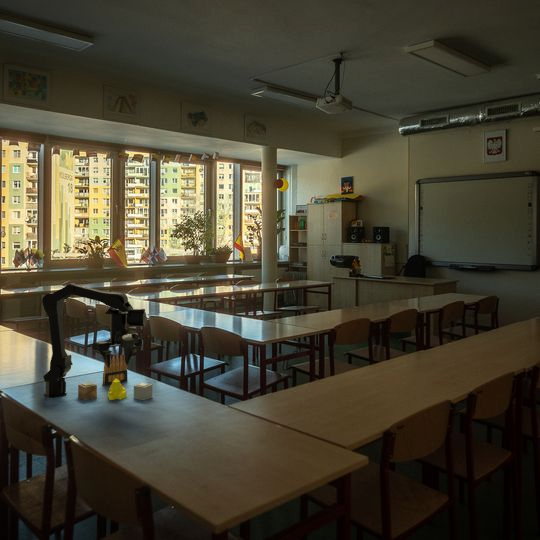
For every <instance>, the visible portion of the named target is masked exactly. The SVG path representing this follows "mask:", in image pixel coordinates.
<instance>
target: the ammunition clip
mask: <svg viewBox="0 0 540 540" xmlns="http://www.w3.org/2000/svg"><path fill="white" fill-rule="evenodd" d="M115 379H118V380H119V381H120V384H123V383H127V382H128V365H126V364H125V354H124V355H122V354H120V357H119V355H118V354H117V355H116V357H115V355H112V357H111V356H110V368H108V367H107V365H106V363H105V361H104V364H103V374H102V383H101V384H102V386H105V387H106V386H111V384H112V382H113V381H114V380H115Z"/></svg>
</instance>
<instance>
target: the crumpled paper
mask: <svg viewBox="0 0 540 540" xmlns="http://www.w3.org/2000/svg"><path fill="white" fill-rule="evenodd" d="M127 393H128V391H127V390H126V388H125V387H124V386H123V384H122V383H120V381H119V380H118V379H115V380H114V381H113V382H112V384H111V385H109V388H108V392H107V398H108V400H110V401H113V400H123V399H125V398H127Z"/></svg>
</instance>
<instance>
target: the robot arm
mask: <svg viewBox="0 0 540 540" xmlns="http://www.w3.org/2000/svg"><path fill="white" fill-rule="evenodd" d="M71 296H77V297H81V298H83V299H84V298H85V299H89V300H93V301H97V302H99V303H102V304H104V305H106V306H107V307H109V308H108V310H107V311H105V312H104V313H105V315H110V327H109V328H108V331H109V332H110V337H109V338H108V342H107V341H104V340H99V341H94V342H93V343H92V350H93V351H97V352H98V353H99V354H100V355H101V357H102V358H103V361H104V362H105V363H106V365H107V367H108V368H110V357H111V354H112V351H113V350H110V349H111V348H115V347H121V348H122V349H123V351H124V355H125V364H126V365H127V366H128V365H129V363H130V360H131V357H132V355H133V353H134V351H135V350H137V349H138V348H139V347H141V346H143V340H142V338H140V336H139V334H138V333H130V334H129V328H127V325H128V326H129V327H142V328H143V327H144V328H145V327H146V325H147V320H148V319H147V318H148V317H147V313H146V309H145V308H134V307H133V305H131V303H130V302H129V297H128V296H127V294H126V293H124V292H116V291H105V290H104V291H103V290H100V289H96V288H91V287H87V286H85V285H84V286H83V285H80V284H77V283H69V284H67V285H66V286H64V287H62V288H60V289H58V290H56V291H54V292H49V293H46V294H45V295H44V296H43V297H42V299H41V304H42V306H43V307H42V308H43V310H44V312H45V313H46V315H47V318H48V326H49V334H50V344H51V353H52V354H51V358H50V362H49V370H48V371H47V372H46V373H45V374H44V375H43V376H42V377H43V378H42V379H43V381H44V382H45V392H43V395H44V396H46V397H48V398H50V399H51V398H52V399H53V398H56V397H61V396H67V381H66V378H65V377H66V376H67V374H68V372H70V370H71V369H72V366H73V362H72V354H68V353H67V351H66V345H65V337H64V327H63V320H62V319H63V318H62V313H63V309H64V303H65V302H64V301H66V300H67V299H69V298H70V297H71Z"/></svg>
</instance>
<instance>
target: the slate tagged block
mask: <svg viewBox="0 0 540 540" xmlns="http://www.w3.org/2000/svg"><path fill="white" fill-rule="evenodd" d="M150 398H153V384H152V383H146V382H140V383H138V384H135V385H133V399H135V400H140V401H146V400H149V399H150Z"/></svg>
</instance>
